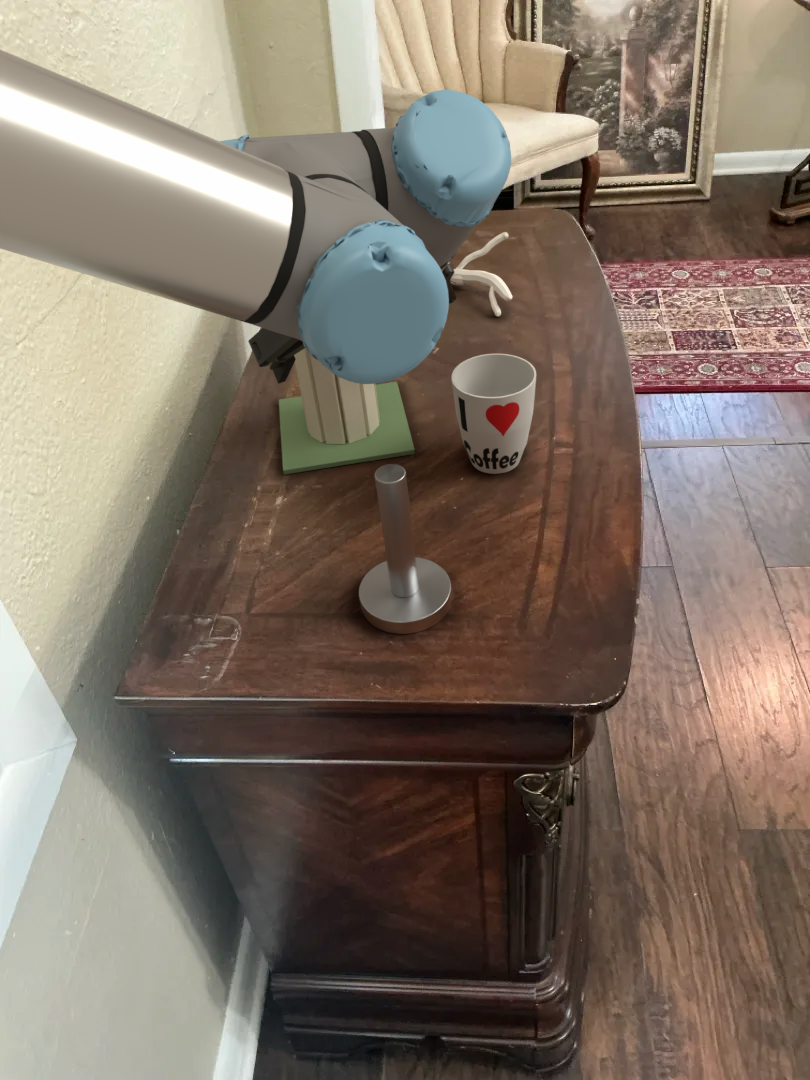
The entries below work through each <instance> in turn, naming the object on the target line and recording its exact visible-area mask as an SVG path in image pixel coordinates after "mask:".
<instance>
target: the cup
mask: <svg viewBox="0 0 810 1080" xmlns="http://www.w3.org/2000/svg"><path fill="white" fill-rule="evenodd" d="M536 385H537V370H536V368H535V366H534V365H533V364H532V363H531V362H529V360H527V359H525V358H522V357H520V356H517V355H513V354H508V353H486V354H479V355H476V356H472V357H471V358H468V359H465V360H463V361H462V362H460V363H459V364H458V365H456V367H454V369H453V370H452V374H451V386H452V394H453V402H454V411H455V416H456V417H455V418H456V420H457V424H458V428H459V431H460V433H459V434H460V436H461V440H462V444H463V446H464V449H465V452H466V453H467V456H468V458H469V460H470V462H471V464H472V466H473V468H475V470H478V471H480V472H482V473H486V474H489V475H490V474H492V475H497V474H505V473H507V472H510V471H512V470H514V469H516V467H518V466H519V464H520V461H521V459H522V456H523V454H524V451H525V448H526V446H527V444H528V439H529V434H530V431H531V425H532V420H533V415H534V407H535V397H536V396H535V395H536Z"/></svg>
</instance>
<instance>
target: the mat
mask: <svg viewBox="0 0 810 1080" xmlns="http://www.w3.org/2000/svg"><path fill="white" fill-rule="evenodd" d="M375 385H376V393H377V401H378V408H379V416H380V423H379V426H378V427H377V428H376V429H375V431H374V432H373V433H372V434H371V435H366V436H367V437H366V438H364V439H361V440H358V441H355V442H353V443H350V444H349V443H348V441H347V440H346V442H345V444H326V441H325V442H323V443H322V442H320V441H318V440H316V439H315V438H313V437H311V436H310V434H309V433H308V429H307V424H306V419H305V414H304V409H303V404H302V399H301V395H299V396H293V397H287V398H280V399H278V413H279V426H280V428H279V429H280V443H281V444H280V445H281V462H282V463H281V464H282V473H283V475H291V474H297V473H303V472H309V471H317V470H322V469H328V468H334V467H335V468H336V467H340V466H347V465H354V464H359V463H366V462H373V461H379V460H385V459H392V458H399V457H403V456H411V455H415V454H416V448H415V445H414V442H413V438H412V434H411V430H410V427H409V422H408V419H407V415H406V410H405V407H404V403H403V400H402V395H401V392H400V388H399V384H398V381H390V382H383V383H377V384H375Z"/></svg>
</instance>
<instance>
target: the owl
mask: <svg viewBox="0 0 810 1080" xmlns="http://www.w3.org/2000/svg"><path fill="white" fill-rule="evenodd" d="M509 236H510V235H509V233H508V232H507V231H504V232H501V233H500V234H498V235H496V236H494V237H493V238H492V239H490V240H489V241H488V242H487V243H486V244H485V245H484V246H483V247H482V248H481V249H478V250H475V251H473V252H471V253H470V254H468V255H466V256H465V257H464V258H463V259H462V260H461V262H460V263H459V264H458V265H457V266H456V267H455V268H453V270H454V274H453V276H452V278H451V279H450V280H451V281H453V282H456V283H457V284H455V283H453V282H451V284H452V286H461V287H462V286H465V285H467V284H468V285H479V286H483V287H486V288H489V292H488V298H489V302H490V307H491V309H492V311H493V314H494V316H495V317H496V318H497V317H501V315H502V310H501V308H500V306H499V304H498V301H497V298H496V296H495V293H496V294H498V296H500V297H501V299H503V301H506V302H511V301H512V300H513V297H514V295H512V292H511V291H510V288H509V287H508V285H507V283H505V281H504V280H503V279H502V278H501V277H500V276H499V275H496V274H495V273H491V272H489V271H485V270H478V269H476V270H474V269H464V268H465V267H466V265H468V263H470V262H471V261H473V260H475V259H478V258H481V257H484V256H485V255H487V254H488V253H489V252H490V251H491V250H492V249H493V248H494V247H495V246H497V245H499V244H500V243H502V242H503V241H506V240H507V239H509ZM453 258H454V257H453ZM453 258H452V260H451V261H454V260H453ZM463 283H465V284H463ZM461 284H463V285H461Z"/></svg>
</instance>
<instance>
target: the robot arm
mask: <svg viewBox="0 0 810 1080" xmlns="http://www.w3.org/2000/svg"><path fill="white" fill-rule="evenodd" d="M511 165H512V150H511V141H510V140H509V138H508V134H507V131H506V130H505V126H504V125H503V124H502V122H501V120H500V118H498V116H497V115H496V113H494V111H493V110H492V109H491V107H489V106H488V105H486V104H485V103H484V102H483V101H481V100H480V99H478V98H477V97H475V96H473V95H471V94H467V93H465V92H462V91H458V90H455V89H454V90H453V89H439V90H434V91H430V92H428V93H427V94H425V95H423V96H421V97H419V98H417V99H416V100H415V101H414V102H412V103H411V104H410V106H408V108H407V110H406V111H405V112H404V114H403V115H400V116H399V118H398V119H397V123H395V126H393V127H383V128H367V129H361V130H357V131H356V130H355V131H341V132H328V133H327V132H326V133H325V132H324V133H308V134H307V133H306V134H292V135H273V136H259V137H256V136H255V137H252V136H250V135H249V134H245V135H242V136H240V137H239V138H233V139H225V140H217V139H214V138H212V137H210V136H208V135H205V134H203V133H200V132H197V131H196V130H194V129H191V128H189V127H186V126H184V125H182V124H179V123H177V122H174V121H173V120H169V119H167V118H164V117H162V116H161V115H157V114H155V113H152V112H150V111H148V110H146V109H143V108H141V107H138V106H137V105H133V104H132V103H129V102H127V101H124V100H122V99H119V98H117V97H115V96H112V95H110V94H108V93H105V92H103V91H101V90H98V89H96V88H93V87H90V86H89V85H87V84H84V83H81V82H78V81H76V80H74V79H72V78H69V77H68V76H67V77H66V76H64V75H63V74H60V73H57V72H55V71H52V70H50V69H48V68H45V67H43V66H41V65H38V64H36V63H33V62H31V61H29V60H27V59H24V58H21V57H20V56H17V55H14V54H12V53H9V52H7V51H5V50H2V49H0V250H4V251H6V252H10V253H14V254H17V255H21V256H23V257H27V258H30V259H34V260H37V261H41V262H43V263H47V264H51V265H53V266H57V267H60V268H64V269H67V270H71V271H73V272H77V273H80V274H84V275H87V276H89V277H93V278H97V279H100V280H103V281H107V282H110V283H114V284H116V285H119V286H122V287H126V288H130V289H133V290H136V291H140V292H144V293H146V294H150V295H153V296H156V297H160V298H163V299H165V300H170V301H172V302H177V303H179V304H182V305H186V306H190V307H193V308H197V309H200V310H202V311H206V312H210V313H213V314H216V315H219V316H221V317H226V318H230V319H233V320H236V321H239V322H243V323H245V324H250V325H252V326H256V327H259V328H261V329H260V330H259V331H257V332H256V333H255V334H254V335H253V336H252V337H251V338H249V339H248V344H249V347H250V349H251V351H252V354H253V356H254V358H255V360H256V362H257V365H258V367H259V368H264V367H269V370H271V371H272V372H273V375H274V376H275V380H276V381H277V383H278V384H283V383H285V382H286V381H287V379H288V377H289V375H290V373H291V370H292V368H293V366H294V365H295V363H294V362H295V360H296V359H295V356H294V355H295V354H297V353H298V352H300V351H301V350H303V349H304V348H306V350H307V351H308V353H309V354H310V355H311V356H312V357H314V358H315V359H317V360H318V361H320V362H321V363H322V364H323V365H324V366H325V367H326V368H327V369H329V370H330V371H331V372H332V373H333V374H335V375H336V376H338V377H340V378H343V379H345V380H347V381H350V382H354V383H359V384H375V385H377V384H383V383H388V382H389V381H390V382H391V381H393V380H396V379H398V378H401V377H403V376H404V375H406V374H409V373H410V372H411V371H412V370H414V369H415V368H417V367H418V366H419V365H421V363H422V362H423V361H425V359H426V358H427V357H428V356H429V355H430V354H431V352H432V351H433V350H434V348H435V347H436V345H437V343H438V341H439V340H440V338H441V337H442V332H443V330H444V329H445V326H446V323H447V320H448V314H449V307H450V304H453V303H454V302H456V300H457V299H458V298H457V295H456V293H455V290H454V287H453V284H451V282H450V279H451V278H452V276H453V274H454V270H453V269H454V267H453V265H452V263H451V261H452V260H453V259H452V258H454V257H456V254H457V253H458V252H459V249H460V248H461V247H462V246H463V244H464V243H465V242H466V241H467V239H468V238H469V237H470V235H471V234H472V233H473V232H474V230H475V229H476V228H477V226H478V225H479V224H481V223H482V222H483V221H484V220H486V218H487V217H488V216H489V215H490V214H491V212H492V209H493V207H494V204H495V203H496V201H497V199H498V197H499V195H500V194H501V192H502V191H503V189H504V186H505V184H506V182H507V180H508V178H509V176H510V175H509V174H510V171H511V167H512V166H511Z"/></svg>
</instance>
